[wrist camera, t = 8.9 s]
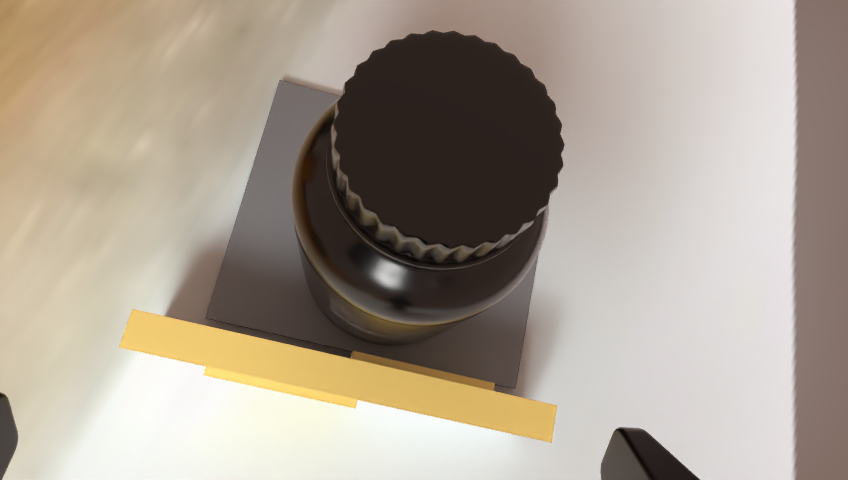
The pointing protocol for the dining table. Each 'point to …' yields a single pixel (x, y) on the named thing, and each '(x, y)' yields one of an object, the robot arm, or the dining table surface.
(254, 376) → the rail
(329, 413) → the dining table surface
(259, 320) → the shelf mat
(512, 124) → the supplement bottle
